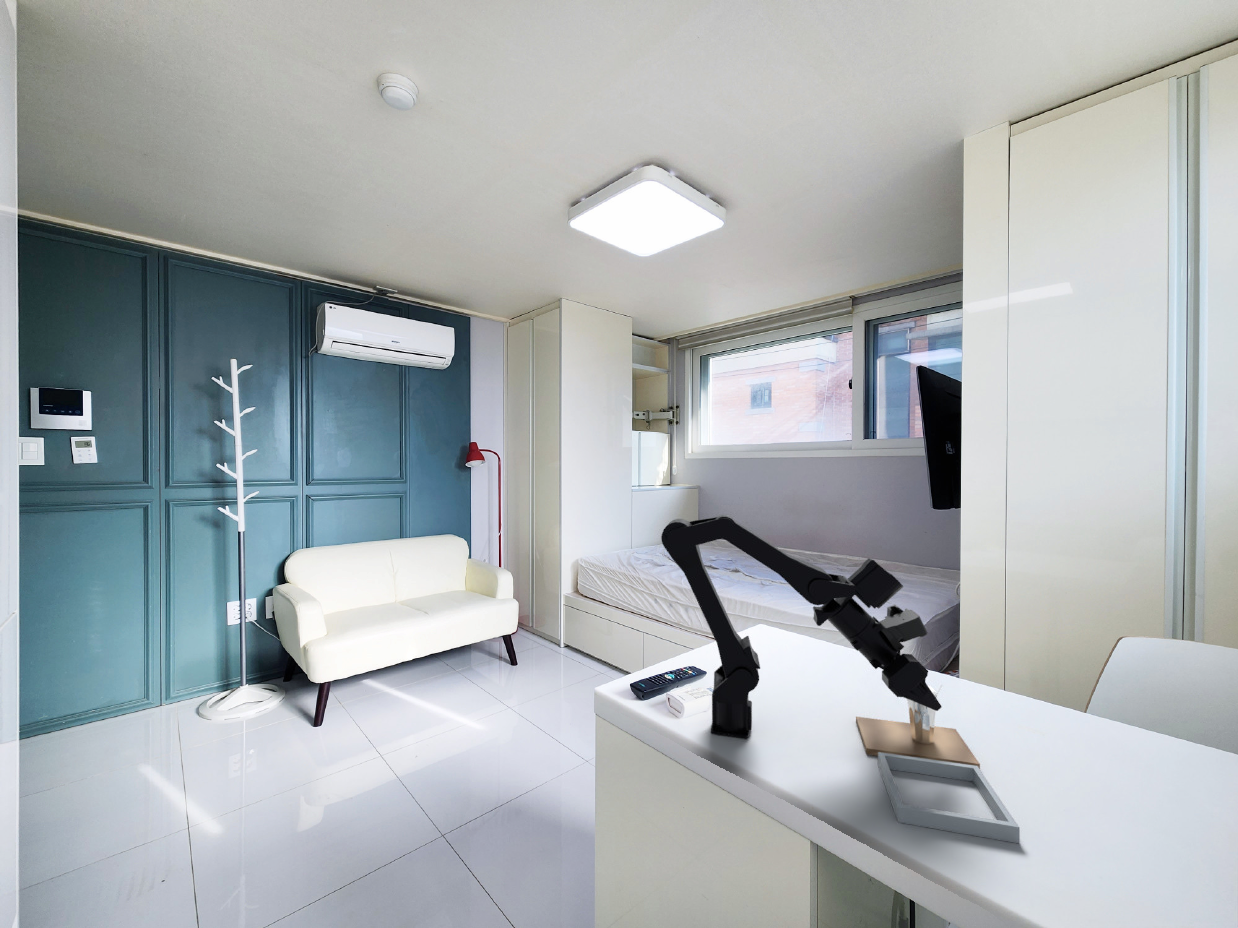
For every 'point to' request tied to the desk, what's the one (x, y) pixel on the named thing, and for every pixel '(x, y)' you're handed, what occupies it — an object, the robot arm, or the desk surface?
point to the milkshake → (922, 721)
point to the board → (913, 742)
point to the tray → (946, 820)
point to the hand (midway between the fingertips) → (927, 695)
